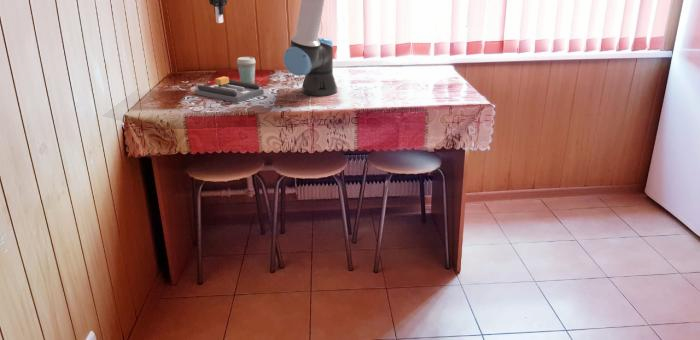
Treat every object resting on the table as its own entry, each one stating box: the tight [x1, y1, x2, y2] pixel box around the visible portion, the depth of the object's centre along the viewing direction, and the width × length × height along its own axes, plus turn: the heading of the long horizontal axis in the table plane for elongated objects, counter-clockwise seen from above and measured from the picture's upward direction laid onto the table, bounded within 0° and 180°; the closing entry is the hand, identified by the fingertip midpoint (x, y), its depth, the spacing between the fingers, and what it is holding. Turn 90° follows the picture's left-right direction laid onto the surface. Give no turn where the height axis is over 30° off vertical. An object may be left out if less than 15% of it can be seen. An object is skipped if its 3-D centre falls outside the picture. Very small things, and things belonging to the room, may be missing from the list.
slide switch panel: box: [195, 83, 264, 103], centre depth 219 cm, size 24×16×3 cm, turn 59°
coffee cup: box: [236, 56, 257, 84], centre depth 233 cm, size 8×9×12 cm
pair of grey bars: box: [197, 79, 261, 96], centre depth 218 cm, size 21×16×2 cm
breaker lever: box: [214, 76, 230, 88], centre depth 219 cm, size 3×5×4 cm, turn 148°
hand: (219, 22), depth 217 cm, fingers closed
